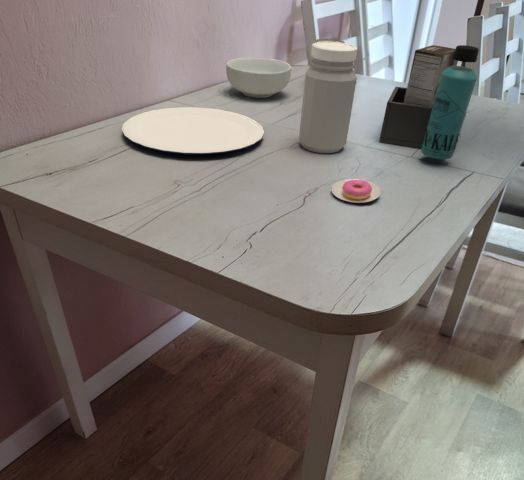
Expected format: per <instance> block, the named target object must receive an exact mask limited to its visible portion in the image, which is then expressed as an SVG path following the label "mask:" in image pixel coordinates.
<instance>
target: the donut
mask: <svg viewBox="0 0 524 480" xmlns="http://www.w3.org/2000/svg"><path fill="white" fill-rule="evenodd" d="M373 182H374V180H372V181H369V180H365V179H362V178H361V179H360V178H347V179H342V180H339V181H337V182H335V183H333V185H332V186H331V193H332V194H333V196H335V197H336V198H338V199H339V200H340V201H341V200H342V201H344V202H347V203H348V202H349V203H353V204H362V203H363V204H364V203H369V202H372V201H375V200H376V199H378V198H379V197H380V196H381V191H382V190H381V188H380V187H379V186H378V185H377V184H375V183H373Z"/></svg>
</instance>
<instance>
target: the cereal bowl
mask: <svg viewBox="0 0 524 480" xmlns="http://www.w3.org/2000/svg"><path fill="white" fill-rule="evenodd" d="M225 69H226V70H225V71H226V78H227V80H228V82H229V84H230V85H231V87H232V88H234V89H235V90H236V91H238V92H241V93H242V94H243V96H246V97H248V98H255V99H265V98H266V99H268V98H271V97H273V95H274V94H277V93H280V92H281V91H283V90H284V89H285V88H286V87H287V86H288V84H289V83H290V81H291V74H292V65H291V64H289V63H288V62H287V61H284V60H280V59H274V58H268V57H256V56H255V57H254V56H253V57H252V56H251V57H238V58H233V59H230V60H228V61H226V64H225Z"/></svg>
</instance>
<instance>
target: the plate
mask: <svg viewBox="0 0 524 480" xmlns="http://www.w3.org/2000/svg"><path fill="white" fill-rule="evenodd" d="M121 131H122V133H123V136H124V137H125V138H126V139H128V140H129V141H130V142H132V143H134V144H136V145H139V146H140V147H141V146H142V147H143V148H146V149H150V150H154V151H157V152H158V151H159V152H163V153H171V154H179V155H213V154H215V155H217V154H225V153H231V152H236V151H241V150H243V149H245V148H249V147H252V146H254V145H255V144H257V143H258V142H259V141H261V140H262V139H263V137H264V135H265V130H264V128H263V125H261V124H260V123H259V122H257V121H256V120H254V119H253V118H250V117H249V116H247V115H244V114H241V113H238V112H234V111H229V110H223V109H219V108H210V107H192V106H189V107H188V106H181V107H168V108H159V109H152V110H148V111H145V112H140V113H139V114H136V115H134V116H131V117H130V118H129V119H127V120H126V121H125V122H123V124H122V127H121Z"/></svg>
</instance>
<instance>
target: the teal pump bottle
mask: <svg viewBox="0 0 524 480" xmlns="http://www.w3.org/2000/svg"><path fill="white" fill-rule="evenodd" d="M454 49H455V52H454V54H453V57H452V59H454V60H457V61H458V62H460V63H461V62H462V63H476V62H477V61H478V55H479V51H480V48H479V47H476V46H474V45H473V46H472V45H465V44H463V45H462V44H461V45H460V44H458V45H456V47H455V48H454ZM477 80H478V77H477V74H476V72H475V70H474V69H472V68H471V67H466V66H462V65H460V66H459V65H457V66H450V67H449V68H447V69H446V70H444V71H443V72H442V74H441V80H440V83H439V87H438V90H437V94H436V95H435V96H436V97H435V99H434V101H433V102H434V104H433V108H432V111H431V114H430V119H429V121H428V122H429V123H428V126H427V130H425V131H426V134H424V135H425V137H424V138H423V139H424V140H423V142H422V144H423V145H421V146H422V148H421V149H420V151H421V154H422V155H423V156H426V157H428V158H431V159H435V160H449V159H451V158H452V157H453V155H454V154H455V152H456V148H457V144H458V142H459V137H460V136H461V132H462V129H463V125H464V122H465V119H466V117H467V115H466V114H467V111H468V108H469V105H470V102H471V99H472V95H473V93H474V88H475V85H476V82H477Z"/></svg>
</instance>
